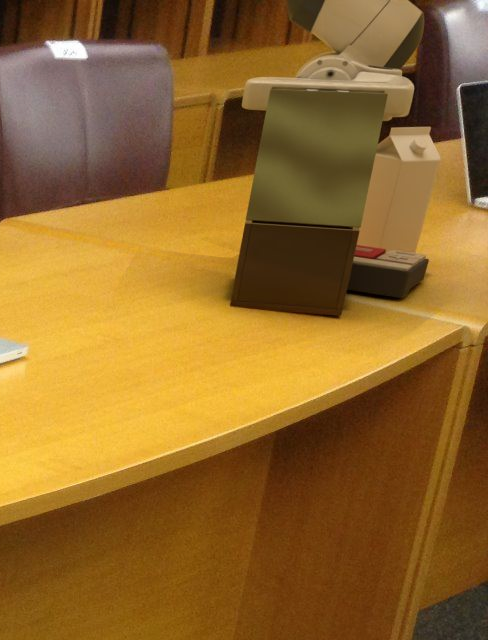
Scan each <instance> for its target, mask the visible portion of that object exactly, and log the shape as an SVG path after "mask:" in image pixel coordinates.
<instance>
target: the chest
mask: <svg viewBox="0 0 488 640" xmlns="http://www.w3.org/2000/svg"><path fill="white" fill-rule="evenodd" d="M359 232H360V231H359V228H357V227H342V226H327V225H311V224H296V223H281V222H266V221H250V220H246V219H245V223H244V227H243V232H242V237H241V243H240V247H239V253H238V258H237V263H236V270H235V275H234V280H233V284H232V285H233V286H232V290H231V297H230V302H229V307H234V308H244V309H252V310H253V309H255V310H267V311H277V312H278V311H279V312H290V313H299V314H300V313H302V314H313V315H314V314H315V315H325V316H335V317H341V316H342V314H343V309H344V304H345V301H346V296H347V291H348V290H347V287H348V282H349V278H350V273H351V269H352V264H353V259H354V255H355V250H356V246H357V241H358V236H359Z"/></svg>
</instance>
